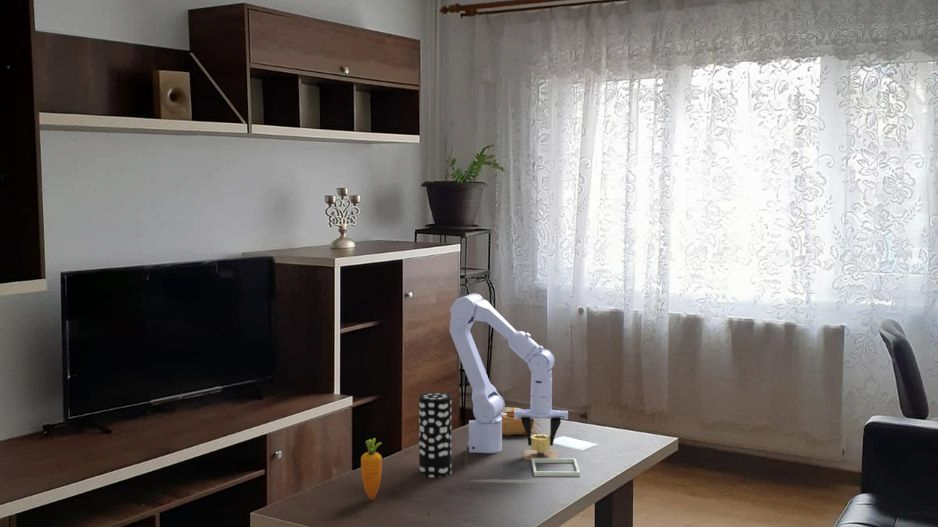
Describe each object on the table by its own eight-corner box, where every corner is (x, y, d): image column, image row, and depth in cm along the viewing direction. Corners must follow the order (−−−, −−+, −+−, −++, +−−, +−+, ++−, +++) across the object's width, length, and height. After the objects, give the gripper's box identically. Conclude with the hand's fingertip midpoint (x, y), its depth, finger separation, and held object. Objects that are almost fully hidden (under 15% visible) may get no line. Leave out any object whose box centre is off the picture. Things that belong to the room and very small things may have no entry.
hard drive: (546, 441, 264) (582, 449, 256) (563, 435, 271) (599, 443, 262) (546, 447, 265) (582, 455, 256) (563, 441, 271) (599, 449, 263)
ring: (531, 452, 248) (531, 441, 248) (530, 445, 255) (530, 434, 255) (551, 452, 248) (551, 441, 248) (549, 445, 255) (549, 434, 255)
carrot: (371, 495, 223) (371, 433, 221) (386, 499, 220) (386, 437, 218) (356, 500, 219) (356, 438, 217) (371, 505, 216) (371, 442, 214)
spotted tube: (447, 478, 235) (447, 400, 233) (415, 476, 237) (415, 399, 235) (454, 468, 243) (454, 393, 241) (423, 466, 245) (423, 391, 243)
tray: (534, 478, 235) (534, 471, 235) (531, 464, 247) (531, 458, 246) (580, 479, 235) (580, 472, 235) (575, 464, 246) (575, 458, 246)
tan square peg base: (524, 462, 248) (524, 443, 248) (523, 452, 257) (523, 434, 257) (558, 462, 248) (558, 443, 248) (555, 452, 257) (555, 434, 257)
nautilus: (557, 441, 270) (518, 453, 261) (508, 421, 286) (470, 432, 277) (557, 415, 269) (519, 426, 259) (508, 397, 285) (470, 407, 276)
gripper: (514, 398, 247) (514, 448, 248) (569, 399, 247) (568, 449, 248) (513, 392, 254) (513, 441, 255) (567, 393, 254) (566, 441, 255)
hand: (540, 444), depth 252 cm, fingers closed on ring, 5 cm apart
